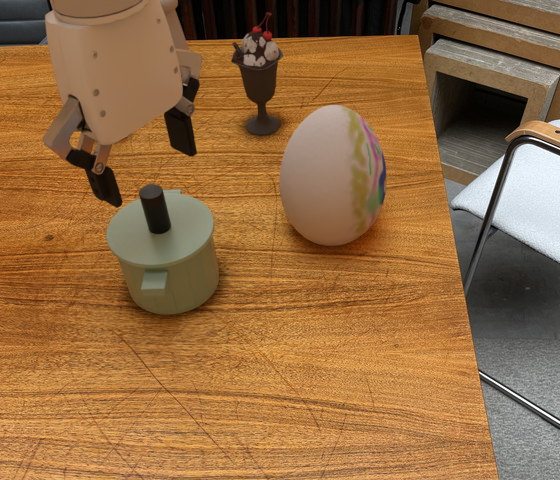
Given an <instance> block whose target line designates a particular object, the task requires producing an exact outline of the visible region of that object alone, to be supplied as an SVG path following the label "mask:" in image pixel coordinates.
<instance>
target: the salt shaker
mask: <svg viewBox="0 0 560 480" xmlns="http://www.w3.org/2000/svg"><path fill="white" fill-rule="evenodd" d="M159 1H160V4H161V6H162V9H163V12H164V14H165V17H166V20H167V23H168V26H169V29H170V32H171V36H172V39H173V43H174V47H175V48H176V49H184V50H190V48H189V45H188V43H187V40H186V37H185V34H184V31H183V28H182V25H181V22H180V20H179V17H178V13H177V11H176V9H177V7H178V6H179V1H178V0H159ZM179 67H180V72H181V75H182V66H179Z"/></svg>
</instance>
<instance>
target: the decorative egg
mask: <svg viewBox="0 0 560 480" xmlns="http://www.w3.org/2000/svg"><path fill="white" fill-rule="evenodd" d="M372 128H373V127H371V126H370V124H369V123H368V122H367V120H366V119H365V118H363V117H362V115H360V114H359V113H357V112H356V111H355V110H353V109H352V108H350V107H347V106H344V105H340V104H329V105H324V106H322V107H319V108H317V109H315V110H313V111H312V112H311V113H310V114H308V115H307V116H306V117H305V118H304V119H303V120H302V121H301V122H300V123H299V125H298V126H297V127H296V129H294V131H293V133H292V134H291V136H290V138H289V140H288V142H287V144H286V147H285V149H284V152H283V156H282V159H281V163H280V167H279V168H280V169H279V178H278V179H279V181H278V182H279V183H278V184H279V185H278V186H279V197H280V201H281V206H282V208H283V210H284V211H283V212H284V213H285V215H286V218H287V220H288V221H289V223H290V224H291V225H292V226H293V228H294V229H295V231H297V232H298V233H299V234H300V235H301V236H302V237H303V238H305V239H306V240H308V241H310V242H312V243H314V244H317V245H321V246H327V247H328V246H329V247H335V246H342V245H346V244H349V243H352V242H354V241H356V240H357V239H359V238H360V237H361V236H363V235H364V234H365V233H366V232H367V231H368V230H370V229H371V227H372V226H373V225H374V223H375V222H376V220H377V218H378V217H379V214H380V213H381V211H382V208H383V206H384V201H385V198H386V194H387V193H386V192H387V183H388V177H387V175H388V174H387V165H386V159H385V155H384V152H383V149H382V145H381V144H380V140H379V139H378V136H377V135H376V133H375V131H374V130H373V129H372Z"/></svg>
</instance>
